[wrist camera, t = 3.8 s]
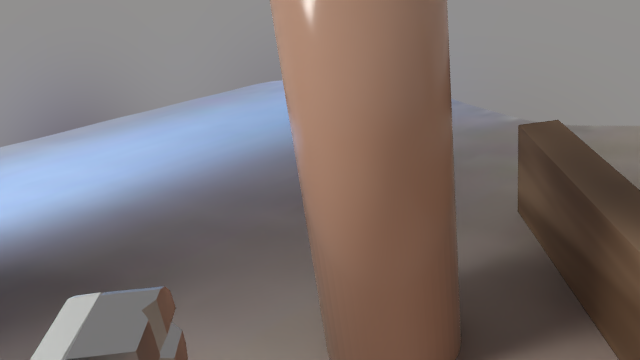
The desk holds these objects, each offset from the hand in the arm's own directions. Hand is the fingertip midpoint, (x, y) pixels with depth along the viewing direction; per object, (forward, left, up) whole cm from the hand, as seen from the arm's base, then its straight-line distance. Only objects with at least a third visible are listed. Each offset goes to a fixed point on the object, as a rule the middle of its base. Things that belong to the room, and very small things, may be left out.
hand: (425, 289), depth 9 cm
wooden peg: (0, +12, -11) cm, 16 cm away
